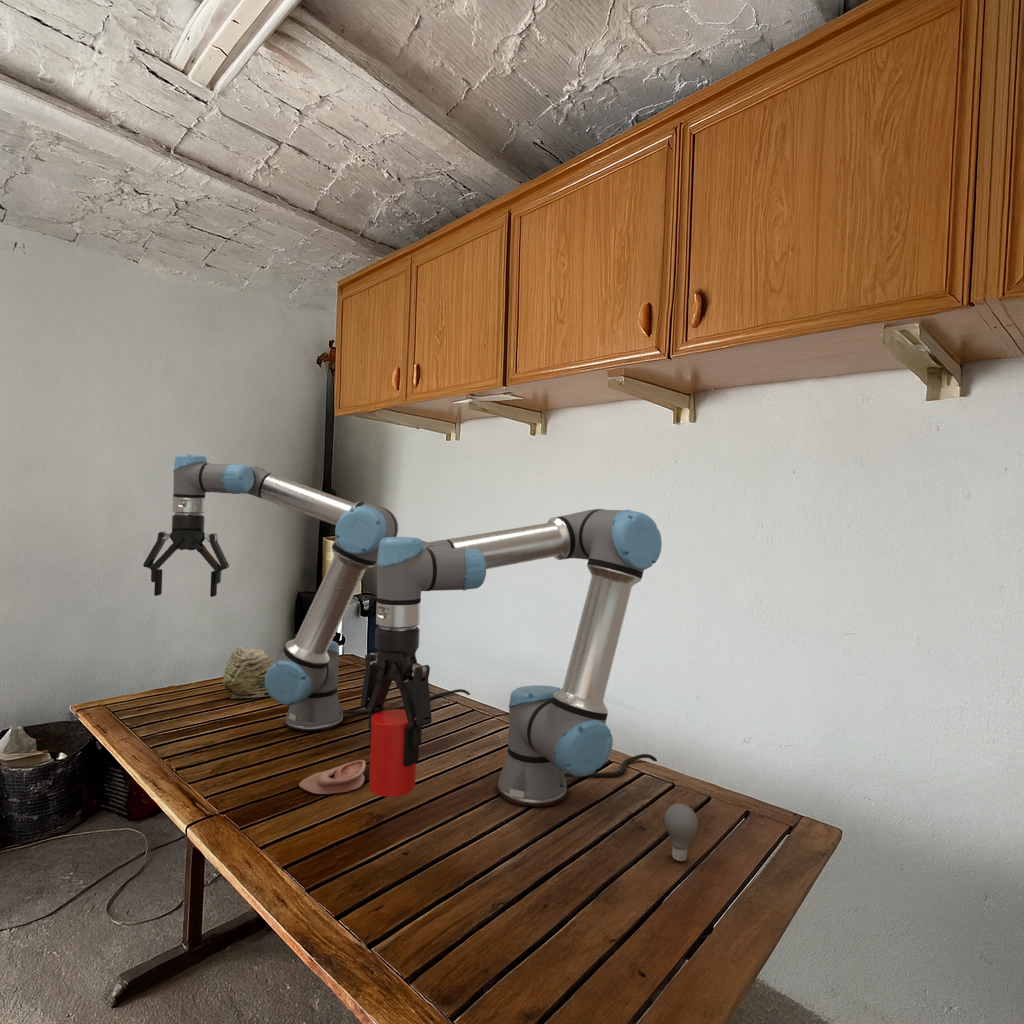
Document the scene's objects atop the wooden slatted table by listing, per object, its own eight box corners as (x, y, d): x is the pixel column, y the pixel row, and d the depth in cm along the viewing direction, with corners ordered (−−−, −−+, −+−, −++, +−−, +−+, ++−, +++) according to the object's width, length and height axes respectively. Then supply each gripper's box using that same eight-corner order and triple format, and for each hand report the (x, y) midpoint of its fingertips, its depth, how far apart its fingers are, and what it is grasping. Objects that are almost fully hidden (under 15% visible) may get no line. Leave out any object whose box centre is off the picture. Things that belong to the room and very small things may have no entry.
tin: (417, 795, 107) (419, 723, 107) (369, 798, 105) (371, 726, 105) (413, 775, 115) (415, 708, 115) (368, 778, 113) (370, 710, 113)
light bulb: (658, 850, 118) (660, 797, 118) (689, 850, 119) (691, 797, 119) (668, 869, 112) (671, 813, 112) (701, 868, 113) (704, 813, 113)
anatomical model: (291, 772, 135) (318, 751, 147) (291, 790, 136) (317, 768, 147) (349, 780, 133) (372, 758, 144) (348, 799, 133) (371, 776, 144)
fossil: (218, 695, 195) (220, 647, 195) (278, 685, 208) (279, 640, 207) (228, 703, 189) (230, 653, 188) (289, 692, 201) (290, 645, 201)
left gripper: (130, 512, 159) (127, 596, 160) (235, 516, 163) (232, 598, 163) (143, 511, 167) (140, 592, 167) (242, 515, 170) (240, 594, 171)
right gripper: (341, 620, 113) (337, 747, 113) (425, 639, 100) (420, 781, 101) (374, 615, 119) (370, 735, 119) (457, 632, 106) (452, 766, 107)
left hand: (185, 595), depth 165 cm, fingers open, 13 cm apart
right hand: (393, 756), depth 110 cm, fingers closed on tin, 8 cm apart
